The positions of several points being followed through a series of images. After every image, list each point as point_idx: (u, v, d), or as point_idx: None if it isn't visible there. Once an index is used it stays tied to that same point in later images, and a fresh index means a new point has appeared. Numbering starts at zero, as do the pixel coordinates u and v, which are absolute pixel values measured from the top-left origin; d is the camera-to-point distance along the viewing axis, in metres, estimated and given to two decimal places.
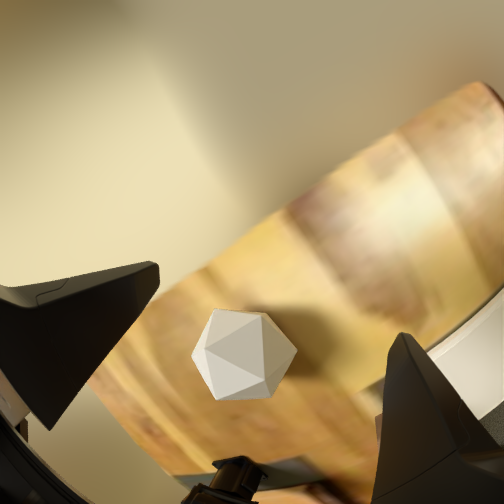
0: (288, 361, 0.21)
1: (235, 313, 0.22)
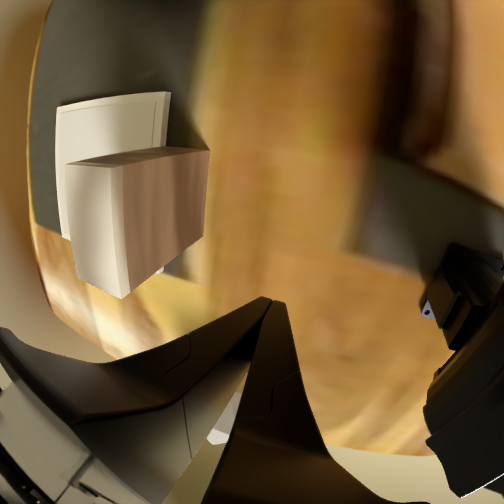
0: None
1: None
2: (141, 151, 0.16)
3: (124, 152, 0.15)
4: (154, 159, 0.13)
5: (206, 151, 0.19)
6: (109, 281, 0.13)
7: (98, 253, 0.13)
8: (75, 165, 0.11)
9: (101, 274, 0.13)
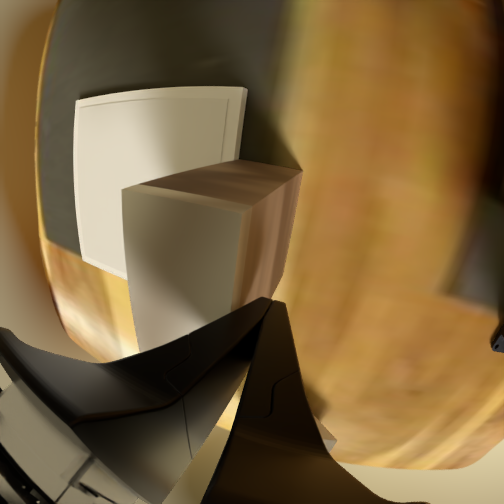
0: None
1: None
2: (225, 168, 0.12)
3: (202, 169, 0.12)
4: (274, 190, 0.09)
5: (301, 172, 0.15)
6: None
7: None
8: (148, 194, 0.07)
9: None
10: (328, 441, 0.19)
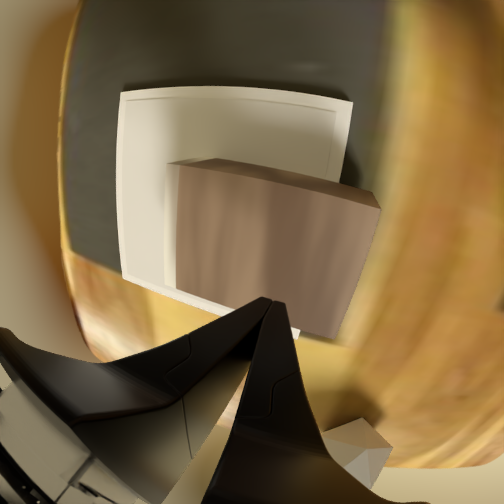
0: None
1: None
2: (294, 175, 0.14)
3: (278, 169, 0.14)
4: (227, 173, 0.12)
5: (368, 207, 0.10)
6: None
7: None
8: (196, 158, 0.15)
9: None
10: (386, 449, 0.18)
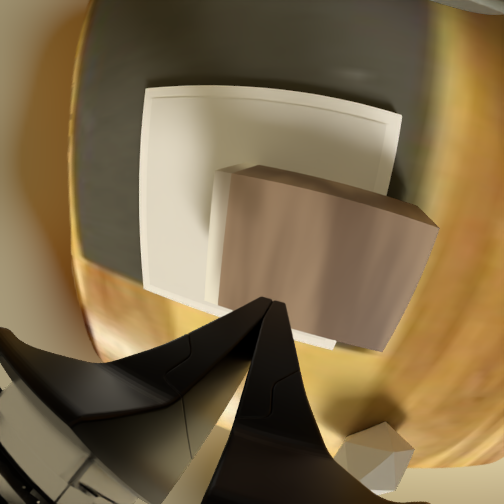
0: (351, 453, 0.18)
1: None
2: (345, 187, 0.13)
3: (328, 180, 0.14)
4: (288, 185, 0.11)
5: (428, 226, 0.09)
6: None
7: None
8: (239, 164, 0.14)
9: None
10: (409, 451, 0.17)
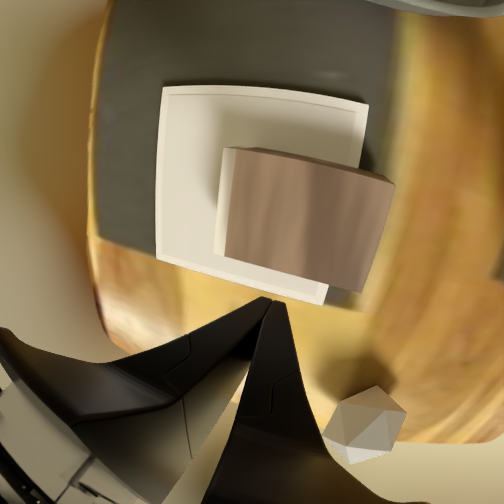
0: (345, 412, 0.22)
1: None
2: (324, 161, 0.17)
3: (310, 157, 0.17)
4: (278, 156, 0.14)
5: (386, 183, 0.13)
6: None
7: None
8: (241, 146, 0.18)
9: None
10: (401, 413, 0.21)
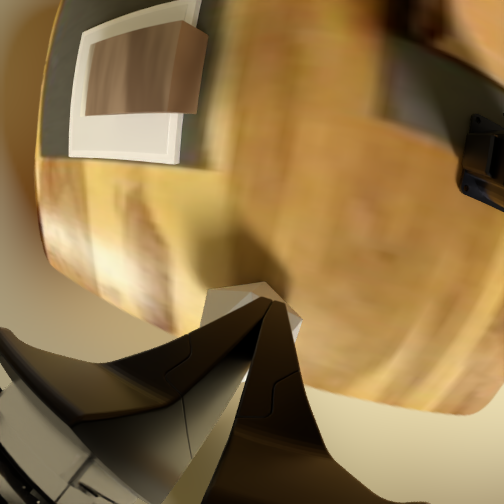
0: (209, 299, 0.21)
1: None
2: None
3: None
4: (114, 36, 0.14)
5: (175, 22, 0.13)
6: None
7: None
8: None
9: None
10: (290, 314, 0.20)
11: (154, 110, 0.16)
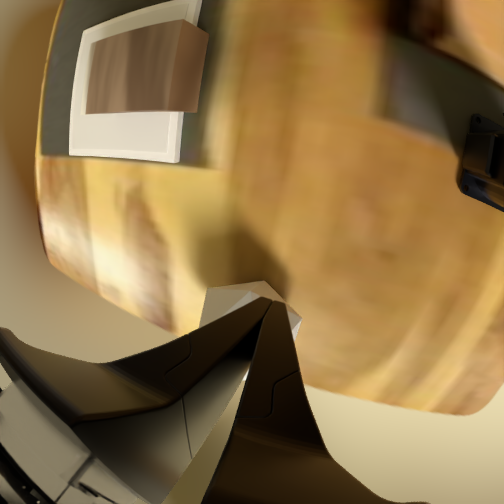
0: (209, 298, 0.21)
1: None
2: None
3: None
4: (115, 35, 0.14)
5: (176, 20, 0.13)
6: None
7: None
8: None
9: None
10: (289, 313, 0.20)
11: (154, 108, 0.16)
